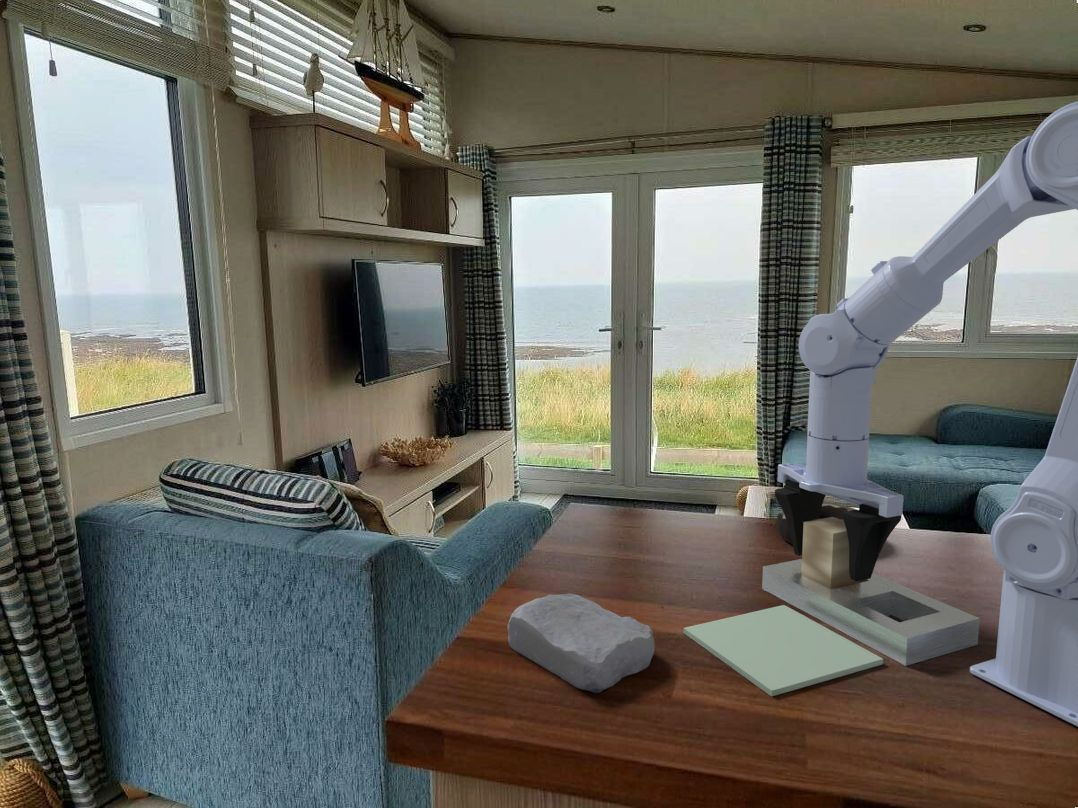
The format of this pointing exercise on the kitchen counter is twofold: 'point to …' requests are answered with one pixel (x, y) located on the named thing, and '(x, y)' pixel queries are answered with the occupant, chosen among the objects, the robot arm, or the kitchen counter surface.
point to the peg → (826, 553)
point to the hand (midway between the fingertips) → (831, 565)
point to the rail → (877, 613)
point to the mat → (781, 649)
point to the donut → (826, 512)
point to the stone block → (580, 640)
